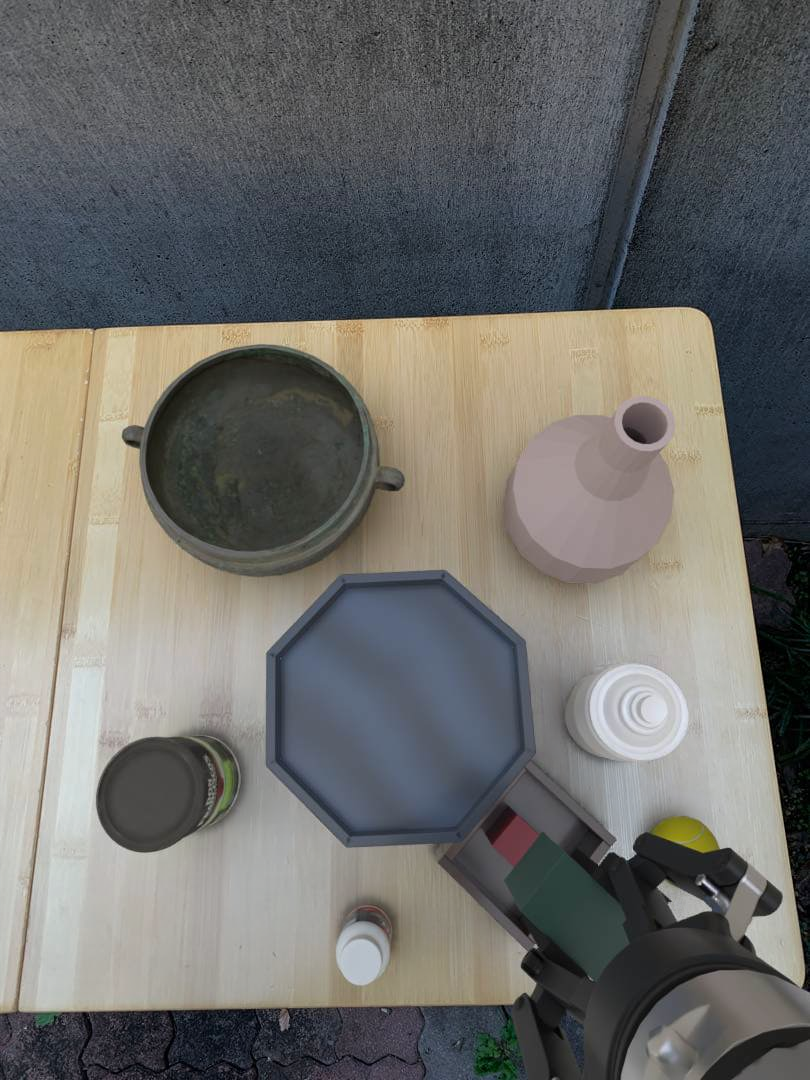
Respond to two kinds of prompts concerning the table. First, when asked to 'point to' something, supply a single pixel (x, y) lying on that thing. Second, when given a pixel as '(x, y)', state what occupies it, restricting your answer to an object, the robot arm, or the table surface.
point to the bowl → (260, 460)
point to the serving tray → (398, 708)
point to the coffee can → (166, 790)
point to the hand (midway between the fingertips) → (567, 898)
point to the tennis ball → (687, 834)
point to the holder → (543, 812)
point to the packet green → (568, 906)
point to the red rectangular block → (511, 836)
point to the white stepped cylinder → (627, 713)
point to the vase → (592, 492)
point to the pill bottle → (364, 945)
